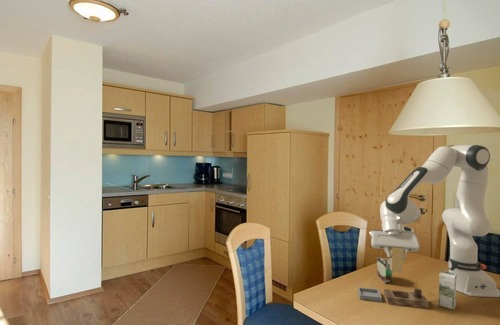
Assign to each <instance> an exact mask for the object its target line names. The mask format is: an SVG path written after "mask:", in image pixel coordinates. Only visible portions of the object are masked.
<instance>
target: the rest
mask: <svg viewBox="0 0 500 325" xmlns="http://www.w3.org/2000/svg"><path fill="white" fill-rule="evenodd" d="M357 292H358V298H359V300H361V301H370V302H377V303H378V302H379V303H382V302H383V297H382V295H381V292H380V289H378V288H368V287H360V286H359V287H357Z"/></svg>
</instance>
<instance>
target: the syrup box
mask: <svg viewBox="0 0 500 325" xmlns="http://www.w3.org/2000/svg"><path fill="white" fill-rule="evenodd" d="M456 280H457V274H456V273H451V272H449V271H446V270H441V271H440V272H439V275H438V306H439V307H442V308H445V309H448V310H452V311H454V310H455V308H456V305H457V300H456V299H457V291H456Z"/></svg>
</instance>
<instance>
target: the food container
mask: <svg viewBox="0 0 500 325" xmlns="http://www.w3.org/2000/svg"><path fill="white" fill-rule="evenodd" d="M376 269H377V270H376V271H377V272H376V274H377V275H376V276H377V277H378V278H379V279H380V280H381V281H382V282H383V283H384V284H391V283H392V281H393V280H392V279H393V271H391V269H390V258H385V257H379V256H378V257H376Z"/></svg>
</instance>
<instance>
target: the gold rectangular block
mask: <svg viewBox="0 0 500 325" xmlns="http://www.w3.org/2000/svg"><path fill="white" fill-rule="evenodd" d="M403 251H404V250H403V249H402V248H398V247H391V250H390V251H389V253H391V255H392V257H391V258H389V260H390V269H391V271H392V272H393V273H394V272H395V273H403V272H404V259H403V254H404V252H403Z"/></svg>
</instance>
